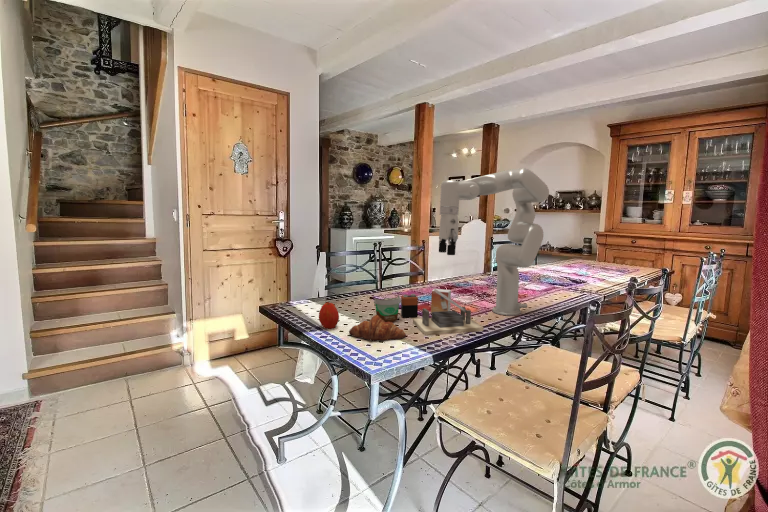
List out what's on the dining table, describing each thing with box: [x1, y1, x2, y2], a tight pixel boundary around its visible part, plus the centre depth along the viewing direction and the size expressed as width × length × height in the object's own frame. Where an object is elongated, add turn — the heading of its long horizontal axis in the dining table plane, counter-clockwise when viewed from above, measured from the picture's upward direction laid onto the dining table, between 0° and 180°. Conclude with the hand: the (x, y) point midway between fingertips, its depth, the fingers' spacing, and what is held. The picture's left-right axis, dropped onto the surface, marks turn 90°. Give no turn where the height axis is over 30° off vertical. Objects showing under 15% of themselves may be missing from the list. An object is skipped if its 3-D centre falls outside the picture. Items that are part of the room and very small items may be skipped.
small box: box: [430, 288, 452, 314], centre depth 170 cm, size 8×6×10 cm
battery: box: [400, 293, 419, 319], centre depth 164 cm, size 4×7×10 cm, turn 98°
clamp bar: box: [433, 288, 467, 314], centre depth 149 cm, size 17×4×1 cm
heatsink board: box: [412, 306, 485, 336], centre depth 150 cm, size 24×16×8 cm, turn 102°
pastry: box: [348, 314, 407, 342], centre depth 139 cm, size 17×15×8 cm
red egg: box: [318, 301, 340, 330], centre depth 148 cm, size 8×8×11 cm
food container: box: [373, 295, 401, 323], centre depth 157 cm, size 12×6×10 cm, turn 118°
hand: (446, 253), depth 151 cm, fingers open, 9 cm apart
